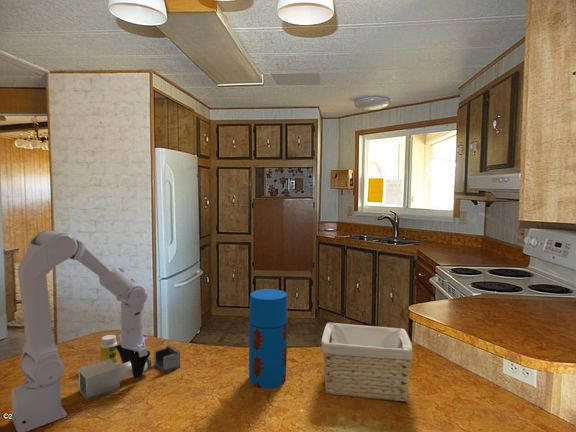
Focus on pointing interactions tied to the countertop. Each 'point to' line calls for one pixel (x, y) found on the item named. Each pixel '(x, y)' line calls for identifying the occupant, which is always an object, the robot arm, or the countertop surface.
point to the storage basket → (367, 361)
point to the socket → (167, 358)
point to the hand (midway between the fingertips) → (132, 372)
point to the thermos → (267, 338)
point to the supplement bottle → (108, 348)
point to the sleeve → (99, 379)
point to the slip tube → (127, 368)
